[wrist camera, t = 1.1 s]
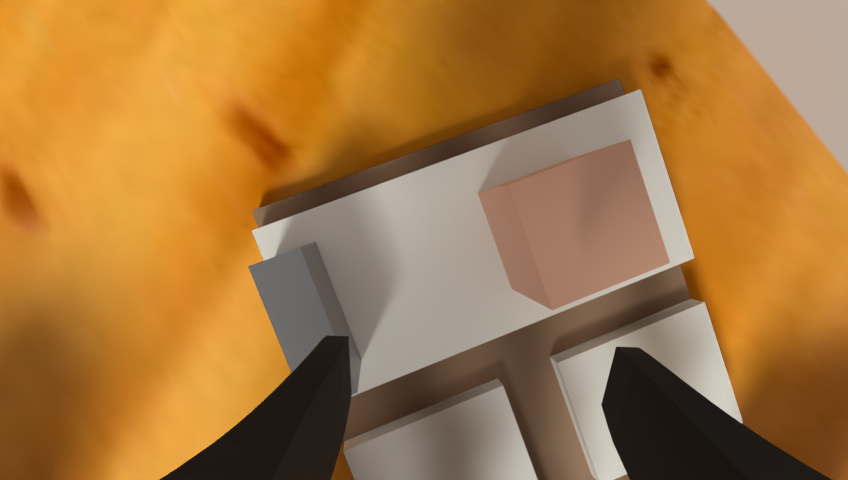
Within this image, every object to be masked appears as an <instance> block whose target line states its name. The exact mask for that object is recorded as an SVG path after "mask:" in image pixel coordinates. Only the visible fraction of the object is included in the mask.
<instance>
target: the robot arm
mask: <svg viewBox="0 0 848 480" xmlns="http://www.w3.org/2000/svg"><path fill="white" fill-rule="evenodd" d="M351 396H352V391H351V371H350V352H349V336H329V335H326V336H325V337H324V338H323V339H322V340H321V341H320V342H319V343H318V344H317V346H316V347H315V348H314V349H313V350H312V351H311V352H310V354H309V355H308V356H307V357H306V358H305V359H304V360H303V361H302V362H301V363H300V365H299V366H298V367H297V368H296V369H295V370H294V371H293V372H292V373H291V374H290V375H289V376H288V377H287V378H286V379H285V380H284V381H283V382H282V383H281V384H280V385H279V386H278V387H277V388H276V389H275V390H274V391H273V392H272V393H271V394H270V395H269V396H268V397H267V398H266V399H265V400H264V401H263V402H262V403H261V404H259V405H258V406H257V407H256V408H255V409H254V410H253V411H252V412H251V413H250V414H248V415H247V416H246V417H245V418H244V419H243V420H242V421H240V422H239V423H238V424H237V425H236V426H234V427H233V428H232V429H231V430H229V431H228V432H227V433H226V434H224V435H223V436H222V437H221V438H219V439H218V440H217V441H215V442H214V443H213V444H211V445H210V446H209V447H207V448H206V449H204V450H203V451H201V452H200V453H199V454H197V455H196V456H194V457H193V458H191V459H190V460H188V461H187V462H186V463H184V464H183V465H181V466H180V467H178V468H177V469H175V470H174V471H172V472H171V473H169V474H168V475H166V476H165V477H163V478H161V479H160V480H331V477H332V474H333V470H334V467H335V464H336V460H337V457H338V454H339V450H340V447H341V444H342V440H343V437H344V433H345V430H346V424H347V419H348V413H349V408H350V402H351ZM601 406H602V409H603V412H604V416H605V419H606V422H607V426H608V429H609V432H610V435H611V438H612V441H613V443H614V446H615V448H616V450H617V453H618V455H619V457H620V459H621V461H622V464H623V466H624V468H625V470H626V472H627V475H628V477H629V479H630V480H831V479H830V478H828V477H826V476H824V475H823V474H821V473H819V472H817V471H816V470H814V469H812V468H810V467H809V466H807V465H805V464H804V463H802V462H801V461H799V460H797V459H796V458H794V457H792V456H791V455H789V454H787V453H786V452H784V451H783V450H781V449H779V448H778V447H776V446H774V445H773V444H771V443H770V442H768V441H767V440H765V439H764V438H762V437H761V436H759V435H758V434H756V433H755V432H753V431H752V430H750V429H749V428H747V427H746V426H745V425H743V424H742V423H740V422H739V421H737V420H736V419H734V418H733V417H732V416H730V415H729V414H727V413H726V412H725V411H723V410H722V409H720V408H719V407H718V406H716V405H715V404H714V403H712V402H711V401H710V400H708V399H707V398H706V397H704V396H703V395H702V394H700V393H699V392H698V391H696V390H695V389H694V388H692V387H691V386H690V385H688V384H687V383H686V382H684V381H683V380H682V379H681V378H679V377H678V376H677V375H675V374H674V373H673V372H672V371H670V370H669V369H668V368H666V367H665V366H664V365H662V364H661V363H660V362H658V361H657V360H656V359H655V358H653V357H652V356H651V355H649V354H648V353H646V352H645V351H643V350H642V349H641V348H639V347H616V349H615V353H614V357H613V361H612V365H611V369H610V372H609V376H608V380H607V384H606V388H605V392H604V396H603V400H602V404H601Z"/></svg>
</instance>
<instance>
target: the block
mask: <svg viewBox="0 0 848 480" xmlns="http://www.w3.org/2000/svg"><path fill="white" fill-rule="evenodd" d="M478 196H479V199H480V201H481V204H482V207H483V210H484V213H485V215H486V218H487V221H488V224H489V227H490V229H491V232H492V235H493V238H494V241H495V243H496V246H497V249H498V252H499V255H500V257H501V260H502V263H503V266H504V269H505V271H506V274H507V277H508V280H509V283H510V285H511V288H512V289H513V290H515V291H516V292H518V293H520V294H522V295H524V296H526V297H528V298H530V299H532V300H534V301H536V302H537V303H539V304H541V305H543V306H545V307H547V308H549V309H551V310H554V309H557V308H559V307H562V306H564V305H567V304H569V303H572V302H574V301H577V300H579V299H582V298H584V297H586V296H589V295H591V294H594V293H596V292H599V291H601V290H604V289H606V288H609V287H611V286H614V285H616V284H619V283H621V282H624V281H626V280H629V279H631V278H634V277H636V276H639V275H641V274H644V273H646V272H649V271H651V270H654V269H656V268H659V267H661V266H664V265H666V264H669V263H670V260H669V257H668V254H667V251H666V248H665V245H664V242H663V239H662V236H661V233H660V230H659V227H658V223H657V220H656V217H655V214H654V211H653V208H652V205H651V202H650V199H649V196H648V193H647V189H646V186H645V183H644V180H643V177H642V174H641V171H640V168H639V165H638V162H637V159H636V156H635V152H634V149H633V146H632V143H631V140H630V139H629V140H626V141H623V142H620V143H617V144H613V145H610V146H607V147H604V148H601V149H598V150H595V151H592V152H589V153H586V154H582V155H579V156H576V157H573V158H570V159H568V160H565V161H562V162H559V163H557V164H554V165H551V166H549V167H546V168H543V169H541V170H538V171H535V172H533V173H530V174H527V175H525V176H522V177H519V178H517V179H514V180H511V181H509V182H506V183H503V184H500V185H498V186H495V187H492V188H490V189H487V190H484V191H482V192H479V193H478Z"/></svg>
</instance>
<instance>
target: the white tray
mask: <svg viewBox="0 0 848 480" xmlns="http://www.w3.org/2000/svg"><path fill="white" fill-rule="evenodd" d="M629 139H630V140H631V143H632V146H633V149H634V152H635V156H636V159H637V162H638V165H639V168H640V171H641V174H642V177H643V180H644V183H645V186H646V189H647V193H648V196H649V199H650V202H651V205H652V208H653V211H654V214H655V217H656V220H657V223H658V227H659V230H660V233H661V236H662V239H663V242H664V245H665V248H666V251H667V254H668V257H669V260H670V263H669V264H666V265H664V266H661V267H659V268H656V269H654V270H651V271H649V272H646V273H644V274H641V275H639V276H636V277H634V278H631V279H629V280H626V281H624V282H621V283H619V284H616V285H614V286H611V287H609V288H606V289H604V290H601V291H599V292H596V293H594V294H591V295H589V296H586V297H584V298H582V299H579V300H577V301H574V302H572V303H569V304H567V305H564V306H562V307H559V308H557V309H554V310H551V309H549V308H547V307H545V306H543V305H541V304H539V303H537V302H536V301H534V300H532V299H530V298H528V297H526V296H524V295H522V294H520V293H518V292H516V291H515V290H513V289H512V288H511V285H510V283H509V280H508V277H507V274H506V271H505V269H504V266H503V263H502V260H501V257H500V255H499V252H498V249H497V246H496V243H495V241H494V238H493V235H492V232H491V229H490V227H489V224H488V221H487V218H486V215H485V213H484V210H483V207H482V204H481V201H480V199H479V196H478V193H479V192H482V191H484V190H487V189H490V188H492V187H495V186H498V185H500V184H503V183H506V182H509V181H511V180H514V179H517V178H519V177H522V176H525V175H527V174H530V173H533V172H535V171H538V170H541V169H543V168H546V167H549V166H551V165H554V164H557V163H559V162H562V161H565V160H568V159H570V158H573V157H576V156H579V155H582V154H586V153H589V152H592V151H595V150H598V149H601V148H604V147H607V146H610V145H613V144H617V143H620V142H623V141H626V140H629ZM252 232H253V235H254V237H255V240H256V242H257V245H258V247H259V250H260V252H261V255H262V257H263V260H264V261H262V262H259V263H256V264H254V265H251V266H248V267H249V269H250V272H251V274H252V277H253V279H254V282H255V284H256V286H257V289H258V291H259V294H260V296H261V299H262V301H263V304H264V306H265V309H266V311H267V313H268V316H269V318H270V321H271V323H272V326H273V328H274V331H275V333H276V336H277V338H278V340H279V343H280V345H281V348H282V350H283V353H284V355H285V358H286V360H287V363H288V365H289V367H290V370H291V372H293V371H294V370H295V369H296V368H297V367H298V366H299V365H300V363H301V362H302V361H303V360H304V359H305V358H306V357H307V356H308V355H309V354H310V352H311V351H312V350H313V349H314V348H315V347H316V346H317V344H318V343H319V342H320V341H321V340H322V339H323V338H324V337H325V336H326V335H329V336H349V352H350V371H351V391H352V396H354V395H357V394H359V393H362V392H364V391H367V390H369V389H371V388H374V387H376V386H379V385H381V384H384V383H386V382H389V381H391V380H394V379H396V378H399V377H401V376H404V375H406V374H409V373H411V372H414V371H416V370H419V369H421V368H424V367H426V366H429V365H431V364H433V363H436V362H438V361H441V360H443V359H446V358H448V357H451V356H453V355H456V354H458V353H461V352H463V351H466V350H468V349H471V348H473V347H476V346H478V345H481V344H483V343H486V342H488V341H491V340H493V339H495V338H498V337H500V336H503V335H505V334H508V333H510V332H513V331H515V330H518V329H520V328H523V327H525V326H528V325H530V324H533V323H535V322H538V321H540V320H543V319H545V318H548V317H550V316H553V315H555V314H557V313H560V312H562V311H565V310H567V309H570V308H572V307H575V306H577V305H580V304H582V303H585V302H587V301H590V300H592V299H595V298H597V297H600V296H602V295H605V294H607V293H610V292H612V291H615V290H617V289H619V288H622V287H624V286H627V285H629V284H632V283H634V282H637V281H639V280H642V279H644V278H647V277H649V276H652V275H654V274H657V273H659V272H662V271H664V270H667V269H669V268H672V267H674V266H677V265H679V264H681V263H684V262H686V261H689V260H691V259H694V254H693V251H692V248H691V245H690V242H689V239H688V236H687V232H686V229H685V226H684V223H683V220H682V217H681V214H680V211H679V207H678V204H677V201H676V198H675V195H674V192H673V189H672V185H671V182H670V179H669V176H668V173H667V170H666V167H665V164H664V160H663V157H662V154H661V151H660V148H659V145H658V142H657V138H656V135H655V132H654V129H653V126H652V123H651V120H650V116H649V113H648V110H647V107H646V104H645V101H644V98H643V95H642V91H641V89H640V90H637V91H634V92H631V93H629V94H626V95H623V96H620V97H618V98H615V99H612V100H609V101H607V102H604V103H601V104H598V105H596V106H593V107H590V108H587V109H585V110H582V111H579V112H576V113H574V114H571V115H568V116H565V117H563V118H560V119H557V120H554V121H552V122H549V123H546V124H543V125H541V126H538V127H535V128H532V129H530V130H527V131H524V132H521V133H519V134H516V135H513V136H510V137H508V138H505V139H502V140H499V141H497V142H494V143H491V144H488V145H486V146H483V147H480V148H477V149H475V150H472V151H469V152H466V153H464V154H461V155H458V156H455V157H453V158H450V159H447V160H444V161H442V162H439V163H436V164H433V165H431V166H428V167H425V168H422V169H420V170H417V171H414V172H412V173H409V174H406V175H403V176H401V177H398V178H395V179H392V180H390V181H387V182H384V183H381V184H379V185H376V186H373V187H370V188H368V189H365V190H362V191H359V192H357V193H354V194H351V195H348V196H346V197H343V198H340V199H337V200H335V201H332V202H329V203H326V204H324V205H321V206H318V207H315V208H313V209H310V210H307V211H304V212H302V213H299V214H296V215H293V216H291V217H288V218H285V219H282V220H280V221H277V222H274V223H271V224H269V225H266V226H263V227H260V228H258V229H255V230H252ZM352 396H351V397H352Z"/></svg>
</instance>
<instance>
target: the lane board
mask: <svg viewBox="0 0 848 480" xmlns="http://www.w3.org/2000/svg"><path fill="white" fill-rule="evenodd" d="M623 95H625V92H624V89H623V86H622V83H621V80H620V78H619V79H616V80H614V81H611V82H608V83H605V84H602V85H600V86H597V87H594V88H591V89H589V90H586V91H583V92H580V93H577V94H575V95H572V96H569V97H566V98H564V99H561V100H558V101H555V102H552V103H550V104H547V105H544V106H541V107H539V108H536V109H533V110H530V111H527V112H525V113H522V114H519V115H516V116H514V117H511V118H508V119H505V120H502V121H500V122H497V123H494V124H491V125H489V126H486V127H483V128H480V129H477V130H475V131H472V132H469V133H466V134H464V135H461V136H458V137H455V138H452V139H450V140H447V141H444V142H441V143H439V144H436V145H433V146H430V147H427V148H425V149H422V150H419V151H416V152H414V153H411V154H408V155H405V156H402V157H400V158H397V159H394V160H391V161H389V162H386V163H383V164H380V165H377V166H375V167H372V168H369V169H366V170H364V171H361V172H358V173H355V174H352V175H350V176H347V177H344V178H341V179H339V180H336V181H333V182H330V183H328V184H325V185H322V186H319V187H316V188H314V189H311V190H308V191H305V192H303V193H300V194H297V195H294V196H291V197H289V198H286V199H283V200H280V201H278V202H275V203H272V204H269V205H266V206H264V207H261V208H258V209H255V210H253V211H252V212H253V215H254V217H255V220H256V222H257V225H258V227H259V228H260V227H263V226H266V225H269V224H271V223H274V222H277V221H280V220H282V219H285V218H288V217H291V216H293V215H296V214H299V213H302V212H304V211H307V210H310V209H313V208H315V207H318V206H321V205H324V204H326V203H329V202H332V201H335V200H337V199H340V198H343V197H346V196H348V195H351V194H354V193H357V192H359V191H362V190H365V189H368V188H370V187H373V186H376V185H379V184H381V183H384V182H387V181H390V180H392V179H395V178H398V177H401V176H403V175H406V174H409V173H412V172H414V171H417V170H420V169H422V168H425V167H428V166H431V165H433V164H436V163H439V162H442V161H444V160H447V159H450V158H453V157H455V156H458V155H461V154H464V153H466V152H469V151H472V150H475V149H477V148H480V147H483V146H486V145H488V144H491V143H494V142H497V141H499V140H502V139H505V138H508V137H510V136H513V135H516V134H519V133H521V132H524V131H527V130H530V129H532V128H535V127H538V126H541V125H543V124H546V123H549V122H552V121H554V120H557V119H560V118H563V117H565V116H568V115H571V114H574V113H576V112H579V111H582V110H585V109H587V108H590V107H593V106H596V105H598V104H601V103H604V102H607V101H609V100H612V99H615V98H618V97H620V96H623ZM616 347H639V348H641V349H642V350H643V351H645V352H646V353H648V354H649V355H651V356H652V357H653V358H655V359H656V360H657V361H658V362H660V363H661V364H662V365H664V366H665V367H666V368H668V369H669V370H670V371H672V372H673V373H674V374H675V375H677V376H678V377H679V378H681V379H682V380H683V381H684V382H686V383H687V384H688V385H690V386H691V387H692V388H694V389H695V390H696V391H698V392H699V393H700V394H702V395H703V396H704V397H706V398H707V399H708V400H710V401H711V402H712V403H714V404H715V405H716V406H718V407H719V408H720V409H722V410H723V411H725V412H726V413H727V414H729V415H730V416H732V417H733V418H734V419H736V420H737V421H739V422H740V423H743V420H742V417H741V414H740V411H739V408H738V405H737V401H736V398H735V395H734V392H733V389H732V386H731V383H730V380H729V376H728V373H727V370H726V367H725V364H724V361H723V358H722V355H721V351H720V348H719V345H718V342H717V339H716V336H715V333H714V330H713V326H712V323H711V320H710V317H709V314H708V311H707V308H706V305H705V302H702V301H698V300H694V299H691V297H690V294H689V291H688V288H687V285H686V281H685V278H684V275H683V272H682V269H681V266H680V264H679V265H677V266H674V267H672V268H669V269H667V270H664V271H662V272H659V273H657V274H654V275H652V276H649V277H647V278H644V279H642V280H639V281H637V282H634V283H632V284H629V285H627V286H624V287H622V288H619V289H617V290H615V291H612V292H610V293H607V294H605V295H602V296H600V297H597V298H595V299H592V300H590V301H587V302H585V303H582V304H580V305H577V306H575V307H572V308H570V309H567V310H565V311H562V312H560V313H557V314H555V315H553V316H550V317H548V318H545V319H543V320H540V321H538V322H535V323H533V324H530V325H528V326H525V327H523V328H520V329H518V330H515V331H513V332H510V333H508V334H505V335H503V336H500V337H498V338H495V339H493V340H491V341H488V342H486V343H483V344H481V345H478V346H476V347H473V348H471V349H468V350H466V351H463V352H461V353H458V354H456V355H453V356H451V357H448V358H446V359H443V360H441V361H438V362H436V363H433V364H431V365H429V366H426V367H424V368H421V369H419V370H416V371H414V372H411V373H409V374H406V375H404V376H401V377H399V378H396V379H394V380H391V381H389V382H386V383H384V384H381V385H379V386H376V387H374V388H371V389H369V390H367V391H364V392H362V393H359V394H357V395H354V396H352V397H351V402H350V408H349V413H348V419H347V424H346V430H345V433H344V437H343V438H344V441H345V442H344V448H343V453H344V456H345V458H346V460H347V463H348V465H349V468H350V470H351V473H352V475H353V478H354V480H630V479H629V477H628V475H627V472H626V470H625V468H624V466H623V464H622V461H621V459H620V457H619V455H618V453H617V450H616V448H615V446H614V443H613V441H612V438H611V435H610V432H609V429H608V426H607V422H606V419H605V416H604V412H603V409H602V406H601V404H602V400H603V396H604V392H605V388H606V384H607V380H608V376H609V372H610V369H611V365H612V361H613V357H614V353H615V349H616Z"/></svg>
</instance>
